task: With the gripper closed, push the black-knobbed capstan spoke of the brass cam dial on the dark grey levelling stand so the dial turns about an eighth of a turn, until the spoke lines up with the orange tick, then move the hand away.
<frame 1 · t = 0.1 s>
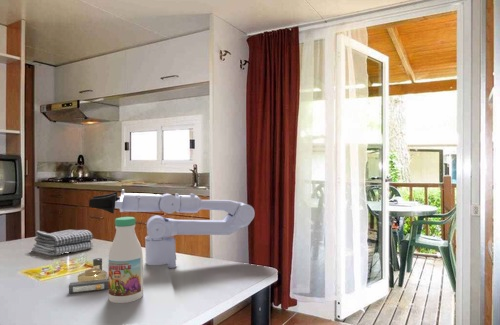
hand: (91, 201, 104), 22 cm above the table, tool horizontal, fingers open, 7 cm apart
milk bottle: (126, 302, 82), on the table
stand base: (97, 286, 92), on the table
cam dial: (94, 272, 94), point 3 cm above the table, hinge at 0.0°
towel: (63, 250, 133), on the table
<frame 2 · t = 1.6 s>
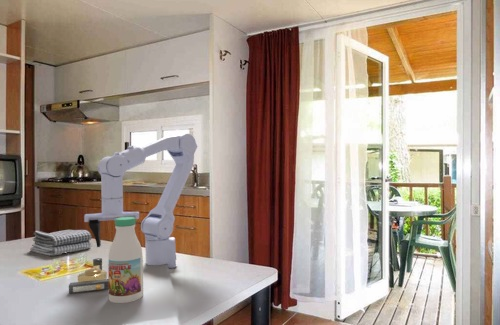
hand: (112, 245, 99), 9 cm above the table, tool pointing down, fingers open, 7 cm apart
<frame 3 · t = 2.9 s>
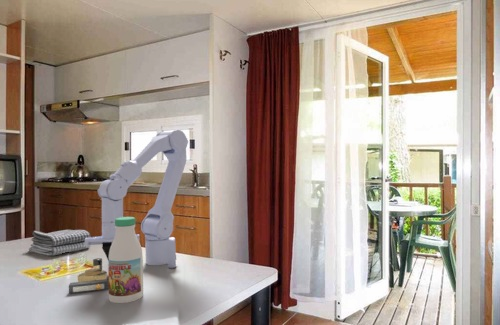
hand: (113, 268, 99), 3 cm above the table, tool pointing down, fingers closed
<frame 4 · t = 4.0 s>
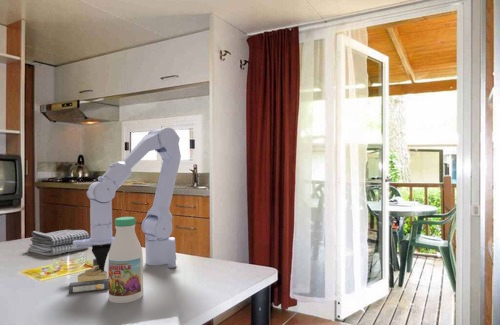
hand: (102, 271, 98), 2 cm above the table, tool pointing down, fingers closed, pressing on cam dial
cam dial: (94, 272, 94), point 3 cm above the table, hinge at 0.0°, touching gripper
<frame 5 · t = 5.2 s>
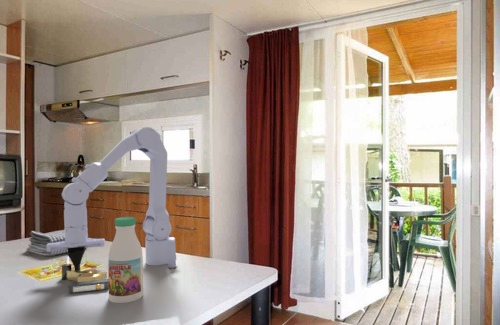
hand: (77, 274, 96), 2 cm above the table, tool pointing down, fingers closed, pressing on cam dial
cam dial: (82, 274, 92), point 3 cm above the table, hinge at 46.0°, touching gripper
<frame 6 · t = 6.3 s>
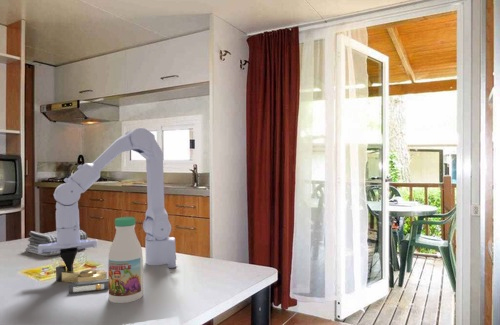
hand: (69, 275, 95), 2 cm above the table, tool pointing down, fingers closed, pressing on cam dial
cam dial: (79, 275, 92), point 3 cm above the table, hinge at 55.5°, touching gripper
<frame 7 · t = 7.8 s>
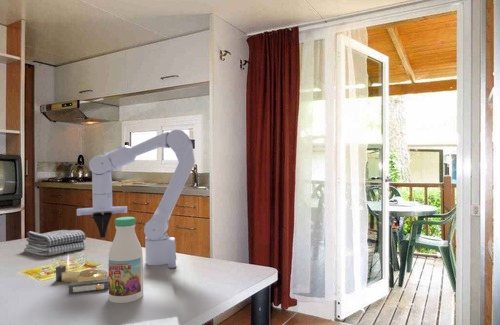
hand: (103, 237, 108), 10 cm above the table, tool pointing down, fingers closed
cam dial: (79, 275, 92), point 3 cm above the table, hinge at 55.7°
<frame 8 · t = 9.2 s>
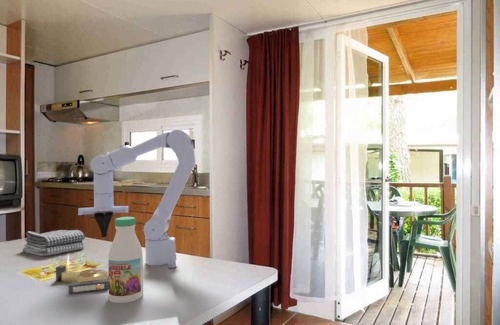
hand: (104, 236, 109), 10 cm above the table, tool pointing down, fingers closed
at the end: cam dial at +56° (first picture: +0°) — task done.
